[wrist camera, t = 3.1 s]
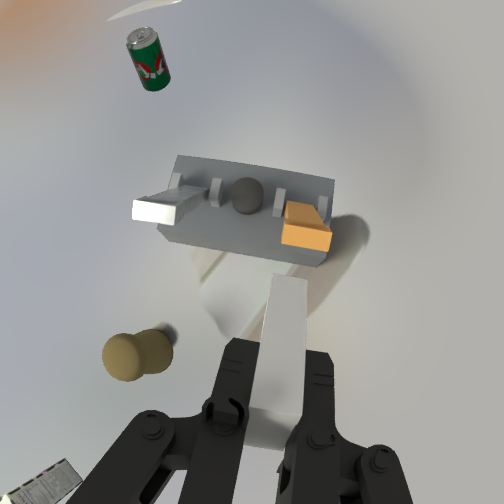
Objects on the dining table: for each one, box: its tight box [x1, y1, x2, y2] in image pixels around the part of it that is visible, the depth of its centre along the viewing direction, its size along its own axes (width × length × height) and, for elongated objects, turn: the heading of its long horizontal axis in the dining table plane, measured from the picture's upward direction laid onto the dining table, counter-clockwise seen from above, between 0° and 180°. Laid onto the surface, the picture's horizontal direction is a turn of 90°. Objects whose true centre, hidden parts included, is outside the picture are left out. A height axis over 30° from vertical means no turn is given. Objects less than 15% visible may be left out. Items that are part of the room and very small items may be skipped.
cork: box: [102, 329, 173, 382], centre depth 35 cm, size 6×6×11 cm
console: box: [157, 155, 335, 267], centre depth 40 cm, size 10×20×9 cm, turn 80°
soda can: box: [126, 27, 171, 91], centre depth 44 cm, size 5×5×12 cm
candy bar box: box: [0, 458, 83, 504], centre depth 27 cm, size 11×5×16 cm, turn 130°
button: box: [231, 177, 264, 215], centre depth 36 cm, size 4×4×2 cm
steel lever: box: [133, 185, 210, 226], centre depth 31 cm, size 2×4×14 cm
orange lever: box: [281, 200, 332, 252], centre depth 31 cm, size 2×4×14 cm
